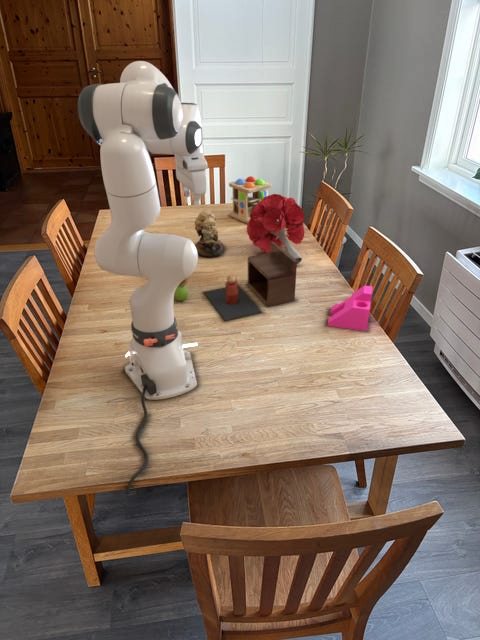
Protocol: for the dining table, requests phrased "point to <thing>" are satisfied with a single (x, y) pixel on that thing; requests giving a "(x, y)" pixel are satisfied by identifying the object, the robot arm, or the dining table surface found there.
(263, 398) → the dining table surface
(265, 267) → the open-top box
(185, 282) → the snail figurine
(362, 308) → the bracket
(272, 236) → the bouquet
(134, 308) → the robot arm
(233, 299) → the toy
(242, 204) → the pounding bench toy
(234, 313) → the felt mat
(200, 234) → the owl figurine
